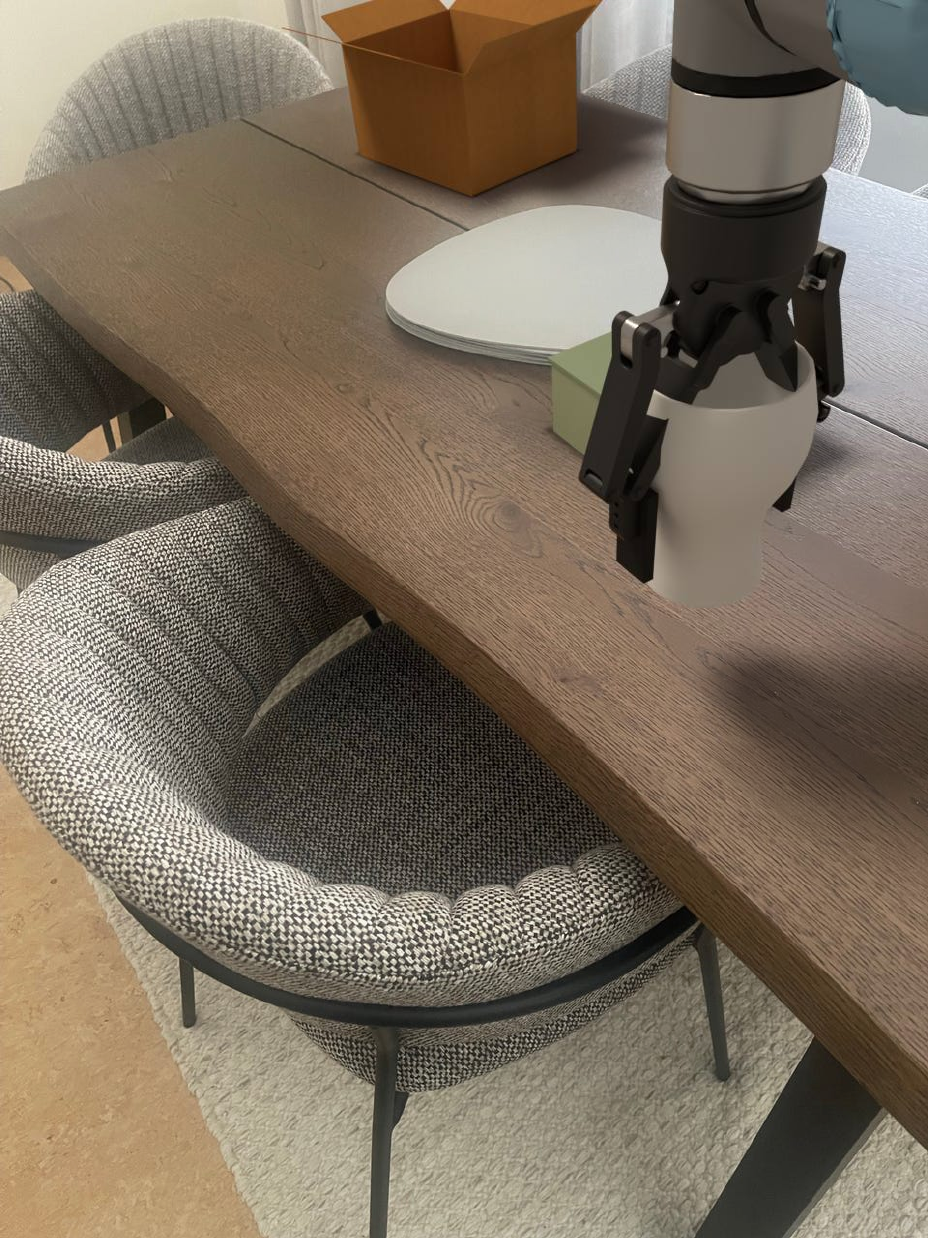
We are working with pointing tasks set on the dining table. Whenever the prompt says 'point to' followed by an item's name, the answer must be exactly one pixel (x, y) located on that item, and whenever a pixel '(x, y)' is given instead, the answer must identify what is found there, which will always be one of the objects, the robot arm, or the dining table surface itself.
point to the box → (463, 85)
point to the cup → (726, 477)
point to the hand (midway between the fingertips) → (704, 534)
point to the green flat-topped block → (579, 388)
